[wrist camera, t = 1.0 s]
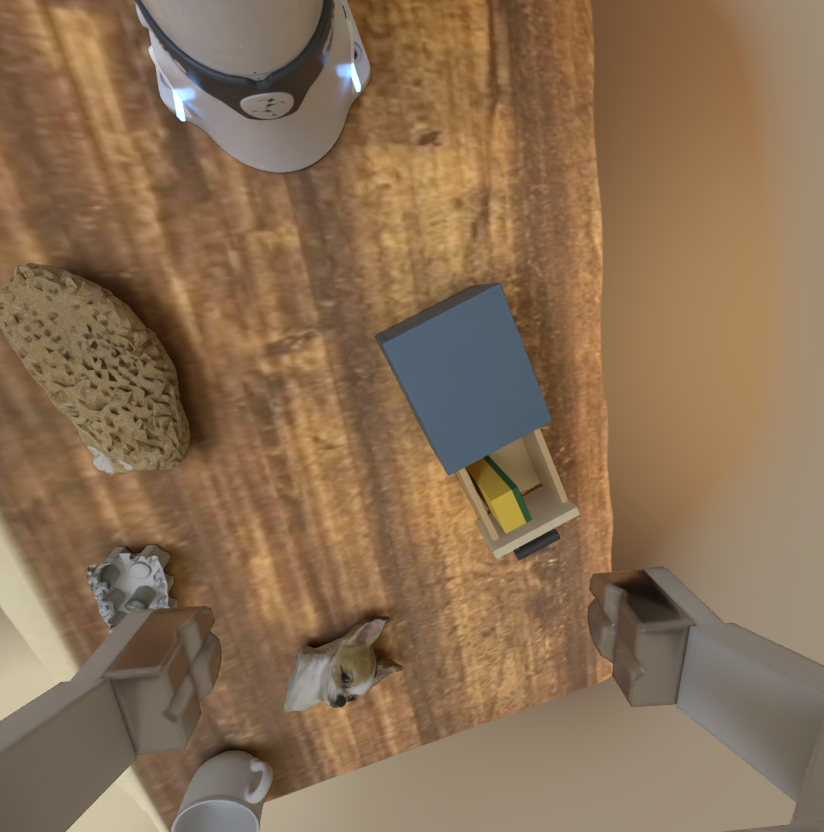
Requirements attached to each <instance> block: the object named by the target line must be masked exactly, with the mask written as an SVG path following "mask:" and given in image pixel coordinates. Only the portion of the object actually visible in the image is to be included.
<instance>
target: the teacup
mask: <svg viewBox="0 0 824 832" xmlns="http://www.w3.org/2000/svg"><path fill="white" fill-rule="evenodd" d="M272 779H273V770H272V768H271V766H270V765H269V764H268V763H266V762H264V761H260V759H259V758H257V757H253V756H252V755H250V754H249V753H247V752H244V751H239V750H231V751H226V752H223V753H220V754H218V755H216V756H214V757H212V758H210V759H209V760H207V761H206V762H205V763H203V764H202V765H201V766H200V767H199V769H198V770H197V771H196V773H195V774H194V776H193V778H192V780H191V782H190V784H189V786H188V788H187V791H186V793H185V796H184V798H183V801H182V803H181V806H180V809H179V812H178V815H177V817H176V818H175V820H174V822H173V825H172V829H171V832H259V830H260V819H261V814H262V808H263V803H264V797H265V795H266V794H267V792H268V790H269V788H270V786H271V783H272Z"/></svg>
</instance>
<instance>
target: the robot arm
mask: <svg viewBox="0 0 824 832" xmlns="http://www.w3.org/2000/svg"><path fill="white" fill-rule="evenodd" d="M135 1H136V10H137V14H138V17H139V20H140V22H141V24H142V26H143V27H145V28H149V34H150V40H151V44H152V45H151V46H150V47H149V48H148V50H149V53H150V56H151V58H152V60H153V62H154V63H155V67H156V73H157V80H158V87H159V93H160V96H161V98H162V100H163V102H164V103H165V105H166V106H167V108H168V109H169V110H170V111H171V112H173V113H174V114H176V115H177V116H178V118H179V119H180V120H181V121H185V120H187V121H189V122H191V123H193V124H195V125H197V126H199V127H200V128H201V129H203V130H204V131H205V132H206V133H207V134H208V135H209V136H210V137H211V138H212V139H213V140H214V141H215V142H216V143H217V144H218V145H219V146H220V147H221V148H222V149H223V150H224V151H226V152H227V153H228V154H229V155H231V156H232V157H234V158H235V159H237V160H238V161H240V162H242V163H244V164H246V165H248V166H250V167H253V168H256V169H259V170H262V171H267V172H275V173H285V172H293V171H297V170H301V169H304V168H306V167H308V166H310V165H312V164H314V163H315V162H317V161H318V160H320V159H321V158H322V157H323V156H325V155H326V154H327V153H328V152H329V150H330V149H331V148H332V147H333V145H334V144H335V142H336V141H337V139H338V137H339V136H340V133H341V131H342V129H343V126H344V123H345V120H346V117H347V114H348V111H349V109H350V106H351V105H352V103H353V102H354V101H355V99H356V98H357V97H358V96H359V95H360V94H361V93H362V92H363V90H364V89H365V88H366V86H367V85H368V83H369V81H370V77H371V72H370V64H369V61H368V58H367V55H366V52H365V49H364V46H363V43H362V41H361V38H360V35H359V32H358V29H357V26H356V24H355V21H354V18H353V15H352V12H351V9H350V6H349V4H348V1H347V0H135ZM354 54H355V55H356V56H357V58H356V59H354ZM589 590H590V591H591V593H592V594H593V596H594V597H595V599H594V600H593V601H592V603H591V604H590V605H589V606H588V618H587V620H588V625H589V630H590V635H591V637H592V640H593V642H594V645H595V646H596V648H597V650H598V652H599V653H600V655H601V656H602V657H604V658H605V659H607V660H608V661H610V662H611V663H613V672H612V675H613V677H614V679H615V680H616V682H617V684H618V685H619V687H620V689H621V690H622V692H623V694H624V695H625V697H626V699H627V701H628V702H629V704H630V706H631V707H641V706H656V705H670V704H671V705H672V704H677V705H676V707H677V708H678V709H680V710H681V711H682V712H683V713H685V714H686V715H687V716H689V717H690V718H691V719H692V720H693V721H695V722H696V723H697V724H699V725H700V726H701V727H702V728H703V729H705V730H706V731H707V732H709V733H710V734H711V735H712V736H714V737H715V738H716V739H717V740H719V741H720V742H721V743H722V744H724V745H725V746H726V747H727V748H729V749H730V750H731V751H733V752H734V753H735V754H736V755H738V756H739V757H740V758H741V759H743V760H744V761H745V762H746V763H747V764H749V765H750V766H751V767H752V768H754V769H755V770H756V771H757V772H759V773H760V774H761V775H763V776H764V777H765V778H766V779H768V780H769V781H770V782H771V783H773V784H774V785H775V786H776V787H778V788H779V789H780V790H781V791H783V792H784V793H785V794H786V795H788V796H789V797H790V798H791V799H793V800H794V801H795V802H796V806H795V809H794V812H793V815H792V819H791V822H790V824H789V825H780V826H771V827H761V828H752V829H743V830H733V831H724V832H824V665H822V664H820V663H818V662H816V661H814V660H811V659H809V658H807V657H805V656H802V655H801V654H799V653H797V652H794V651H792V650H790V649H788V648H786V647H784V646H782V645H779V644H777V643H775V642H773V641H771V640H769V639H767V638H764V637H762V636H760V635H758V634H756V633H754V632H752V631H750V630H747V629H745V628H743V627H741V626H739V625H737V624H735V623H724V622H723V621H722V620H721V619H720V618H719V617H718V616H717V615H716V614H715V613H714V612H713V611H711V609H710V608H709V607H708V606H707V605H706V604H705V603H703V602H702V601H701V600H700V599H699V598H698V597H697V596H696V595H695V594H694V593H693V592H692V591H691V590H690V589H689V588H688V587H687V586H686V585H685V584H684V583H683V582H682V581H681V580H680V579H678V578H677V577H676V576H675V575H674V574H673V573H672V572H671V571H670V570H669V569H667V568H665V567H653V568H644V569H639V570H629V571H618V572H607V573H595V574H593V575H592V577H591V579H590V588H589ZM214 622H215V620H214V617H213V613H212V610H211V608H209V607H207V606H197V607H180V608H163V609H158V610H157V609H153V610H137V611H133V612H131V613H129V614H127V615H126V616H125V617H124V618H123V619H122V620H121V622H120V623H119V624H118V625H117V626H116V627H115V629H114V630H113V631H112V632H111V633H110V634H109V636H108V637H107V638H106V639H105V640H104V642H103V643H102V644H101V645H100V646H99V647H98V649H97V650H96V651H95V652H94V653H93V655H92V656H91V657H90V658H89V659H88V660H87V662H86V663H85V664H84V665H83V666H82V667H81V669H80V670H79V671H78V672H77V673H76V675H75V676H74V677H73V678H72V679H71V680H70V681H68V682H60V683H59V684H57V685H56V686H54V687H53V688H51V689H50V690H48V691H46V692H45V693H43V694H42V695H40V696H39V697H37V698H35V699H34V700H32V701H31V702H29V703H28V704H26V705H25V706H23V707H21V708H20V709H18V710H17V711H15V712H14V713H12V714H11V715H9V716H7V717H6V718H4V719H3V720H1V721H0V832H66V831H67V830H68V829H69V828H70V827H71V826H72V824H74V822H75V821H76V820H77V819H78V818H79V817H80V816H81V815H82V814H83V813H84V812H85V811H86V810H87V809H88V808H89V807H90V806H91V805H92V804H93V803H94V802H95V801H96V800H97V799H98V798H99V797H100V796H101V795H102V794H103V793H104V792H105V791H106V789H107V788H108V787H109V786H110V785H111V784H112V783H113V782H114V781H115V780H116V779H117V778H118V777H119V776H120V775H121V774H122V773H123V772H124V771H125V770H126V769H127V768H128V767H129V766H130V765H131V764H132V763H133V762H134V761H135V760H136V756H137V755H145V754H153V753H161V752H169V751H177V750H185V748H186V746H187V744H188V741H189V739H190V737H191V735H192V733H193V731H194V729H195V726H196V724H197V722H198V720H199V718H200V716H201V713H202V712H201V708H200V704H199V702H200V701H201V700H202V699H203V698H204V697H205V696H206V695H208V694H209V693H210V692H211V691H212V689H213V687H214V685H215V682H216V680H217V678H218V675H219V670H220V665H221V645H220V641H219V638H218V637H217V636H215V635H214V634H213V633H212V632H211V631H210V630H211V628H212V626H213V624H214Z"/></svg>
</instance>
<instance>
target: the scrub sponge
mask: <svg viewBox="0 0 824 832" xmlns="http://www.w3.org/2000/svg"><path fill="white" fill-rule="evenodd" d="M465 468H466V470H467V472H468V474H469V476H470V478H471V480H472V482H473V485H474V487H475V489H476V491H477V493H478V495H479V496H480V498H481V499H482V500H483V502H484V503H485V505H486V506H487V507H488V509H489V510H490V512H491V513H492V515H493V516H494V517H495V519H496V520H497V522H498V523H499V525H500V526H501V527H502V529H503V530H504V532H505V533H506V534H507V533H509V532H510V531H512V530H514V529H516V528H518V527H520V526H522V525H524V524H525V523H526V522H529V521H531V520H532V518H531V515H530V513H529V511H528V509H527V506H526V504H525V502H524V499H523V497H522V495H521V493H520V490H519V488H518V486H517V485H516V484H515V483H514V482H513V481H512V480H511V479H510V478H509V477H508V476H507V475H506V474H505V473H504V472H503V470H502V469H501V468H500V467H499V466H498V465H497V464H496V463H495V462H494V461H493V460H492V459H491V458H490V457H489V456H488V455H487V456H485V457H484V458H482V459H480V460H478V461H476V462H474V463H472V464H470V465H468V466H467V467H465Z"/></svg>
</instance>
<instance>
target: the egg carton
mask: <svg viewBox="0 0 824 832" xmlns="http://www.w3.org/2000/svg"><path fill="white" fill-rule="evenodd" d="M169 560H170V555H169V553H167V552H164V551H163V550H160V549H159V548H158V547H157V546H156V545H147V546H146V547H145V549H144V550H143V551H142V552H141V553H138V554H133V553H130V552H129V551H128V550H127V549H126V547H116V548H115V549H114V550H113V551H112V552H111V553H110V555H109V556H108V557H107V558H106V559H105V560H104V561H103V562H102V563H101V564H97V565H92V566H89V567H88V570H87V573H88V576H87V578H88V581H89V586H90V588H91V591H92V590H94V592H95V599H97V603H98V606H99V612H100V614H101V616H102V618H103V619H104V620H105V622H106V624H108V625H109V630H108V632H109V634H110V633H111V632H112V631H113V630H114V629H115V627H116V626H117V625H118V624H119V623H120V622H121V620H122V619H123V618H124V617H125V616H126V615H127V614H129V613H131V612H133V611H137V610H153V609H157V610H158V609H163V608H177V606H178V602H177V600H176V599H173V598H171V597H169V596H168V592H169V590H170V589H171V587H172V585H173V584H174V577H173V576H171V575H167V574H166V573H164V572H163V569H164V567H165V566H166V564H167V563H168V561H169Z"/></svg>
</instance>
